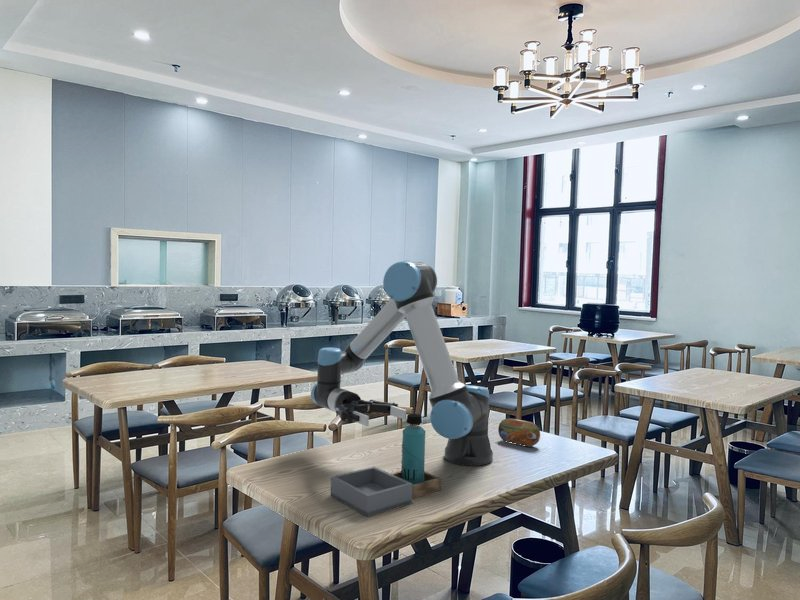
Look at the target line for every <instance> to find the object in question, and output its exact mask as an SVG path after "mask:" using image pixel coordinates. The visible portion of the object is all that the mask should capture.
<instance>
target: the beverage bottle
mask: <svg viewBox="0 0 800 600" xmlns="http://www.w3.org/2000/svg"><path fill="white" fill-rule="evenodd" d="M406 423H407V424H409V425H407V426H406V427H405V428H403V429H402V438H401V462H400V463H401V466H400V468H401V469H400V471H401V473H402V476H401V479H403V480H406V481H408V482H410V483H412V484H413V485H414V484H417V483H421V482H424V478H425V475H424V471H425V461H426V460H425V458H426V457H425V454H426V453H425V452H426V451H425V449H426V430H425V429H424V428H423V427H422V426H420V425H421V424H422V423H423V419H422V415H421V414H419V413H418V414H417V413H409V414H406Z"/></svg>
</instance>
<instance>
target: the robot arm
mask: <svg viewBox="0 0 800 600" xmlns="http://www.w3.org/2000/svg"><path fill="white" fill-rule="evenodd" d="M382 280H383V281H382V284H383V290H384V292H385V293H386V295H387V297H388V298H390V300H389V301H388V302H387V303H386V304H385V305H384V306H383V307H382V308H381V309H380V310H379V312H378V313H377V314H376V315H375V316H374V317H373V318H372V319H371V320H370V321H369V322H368V324H367V325H365V327H364V328H363V329H362V330H361V331H360V332H359V333H358V334H357V336H356V337H355V338H354V339H353V340H352V341H351V342H350V343H349V344H348V345H347V346H346V347H345V349H343V351H342V350H341V348H339V347H322V348H320V349H319V351H318V356H317V378H316V379H317V381H316V384H314V385H313V386H312V389H311V390H310V397H311V400H312V402H313V403H314V404H315V405H317V406H319V407H320V408H324V409H327V410H329V411H332V412H334V413H336V414H338V417H339V418H340V421H341V422H345V421H346V420H347V423H348V424H352V423H353V422H355V423H358V424H359V425H362V426H365V427H369V423H370V422H369V421H370V416H369V415H367V414H372V413H378V414H379V413H381V414H390V416H392V417H396V418H399V419H401V420H406V421H407V409H404V408H401V407H399V404H398V403H395V402H388V401H387V402H386V401H381V400H374V399H370V400H368V401H367V400H365V399H362V398H361V396H360V395H359V394H358V393H356V392H353V391H349V390H348V389H345V388H341V382H342V380H341V379H342V378H341V377H342V375H346V374H349V373H351V372H352V373H353V372H354V373H355V372H357V371H358V370H360V369H361V368H362V367H364V365H365V363H366V362H365V361H366V359H367V358H368V357H369V356H370V355H371V354H372V353H374V351H375V350H376V349H377V347H379V346H380V344H381V343H383V341H384V340H385V339H386V338H387V337H388V336H389V335H390V334H391V333H392V332H393V331H394V330H395V329H396V328H397V327H398V326H399V324H400V323H402V321H404V320H405V319H406V323H407V326H408V328H409V331H410V333H411V336H412V339H413V342H414V345H415V348H416V351H417V353H418V357H419V359H420V362H421V365H422V367H423V371H424V373H425V376H426V379H427V382H428V384H429V388H430V394H429V395H428V400H429V403H430V406H431V410H430V414H429V415H430V416H429V420H430V423H431V425H432V428H433V430H434V431H435V433H437V434H438V435H439V436H441V437H443V438H445V439H448V440H447V444H446V446H445V448H444V458H445V460H446V461H448V462H451V463H453V464H457V465H463V466H484V465H487V464H490V463H492V461H493V457H494V453H493V449H492V448H491V442H490V439H489V416H490V415H489V414H490V413H489V412H490V411H489V410H490V399H491V398H490V391H489V389H488V388H487V387H485V386H478V385H470V384H469V385H468V384H465V383H463V382H461V381H460V380H459V379H458V375H457V371H456V370H455V367H454V364H453V360H452V358H451V356H450V353H449V351H448V347H447V344H446V342H445V339H444V336H443V333H442V330H441V327H440V325H439V322H438V319H437V316H436V314H435V309H434V308H433V303H434V300H435V296H434V292H435V291H436V288H437V285H438V277H437V273H436V271H435V269H434V268H433V267H432V266H431V265H430V264H428V263H425V262H423V261H422V262H421V261H410V260H403V261H398V262H395V263H393V264H391V265H390V266H389V267H388V268H387V270H386V272H385V274H384V276H383V279H382ZM368 409H369V410H368Z"/></svg>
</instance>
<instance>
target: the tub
mask: <svg viewBox="0 0 800 600" xmlns="http://www.w3.org/2000/svg"><path fill="white" fill-rule="evenodd" d="M412 487H413V484H412V483H410V482H408V481H406V480H403V479H401V478H399V477H397V476H394V475H392V474H391V473H390V472H387V471H386V470H383V469H381V468H379V467H377V466H371V467H367V468H362V469H358V470H352V471H351V472H350V471H349V472H346V473H345V472H344V473H341V474H338V475H333V476H332V475H331V476H330V494H329V495H330V497H331V498H334V500H337V501H339V502H341V503H342V504H343V505H346V506H347V507H349V508H350V509H353V510H354V511H356V512H358V513H359V514H360V515H363V516H365V517H366V518H369V517H371V516H374V515H378V514H381V513H384V512H388V511H391V509H392V510H394V508H395V509H397V507H398V508H401V507H405V506H407V505H411V504H412V503H413V498H412Z"/></svg>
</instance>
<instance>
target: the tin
mask: <svg viewBox="0 0 800 600" xmlns="http://www.w3.org/2000/svg"><path fill="white" fill-rule="evenodd" d="M498 435H499V438H500V439H501V440H502V441H503V442H505V441H507V442H512V443H516V444H521V445H525V446H529V447H528V448H531V447H533V446H535V445H537V444H538V443H539V441H540V439H541V430H540V428H539V427H538V426H537V424H535V422H532V421H527V420H522V419H517V418H505V419H502V420H501V421H500V423H499V425H498ZM507 442H506V443H507ZM516 444H515V445H516ZM525 446H524V447H525Z"/></svg>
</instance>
